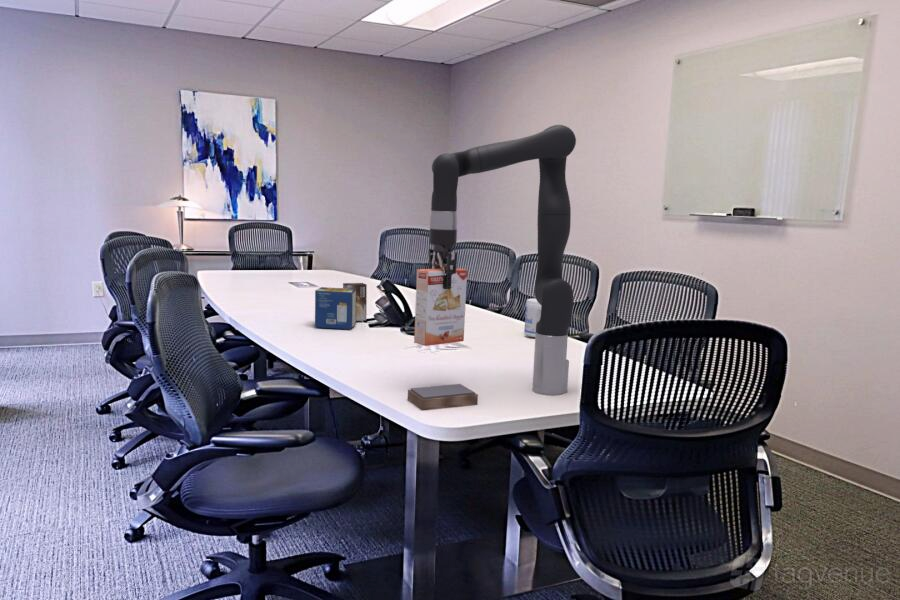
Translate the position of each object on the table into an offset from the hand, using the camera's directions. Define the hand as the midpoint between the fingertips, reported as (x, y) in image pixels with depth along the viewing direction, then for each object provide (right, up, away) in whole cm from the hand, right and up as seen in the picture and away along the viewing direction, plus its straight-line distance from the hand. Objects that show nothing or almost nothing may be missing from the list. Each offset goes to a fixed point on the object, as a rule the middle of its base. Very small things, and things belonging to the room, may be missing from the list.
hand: (441, 287), depth 191 cm
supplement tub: (+38, -18, +90) cm, 99 cm away
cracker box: (-1, -16, +2) cm, 16 cm away
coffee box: (-40, -13, +110) cm, 117 cm away
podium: (0, -31, -8) cm, 32 cm away
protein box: (-45, -15, +94) cm, 105 cm away
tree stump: (-5, -21, +62) cm, 66 cm away
